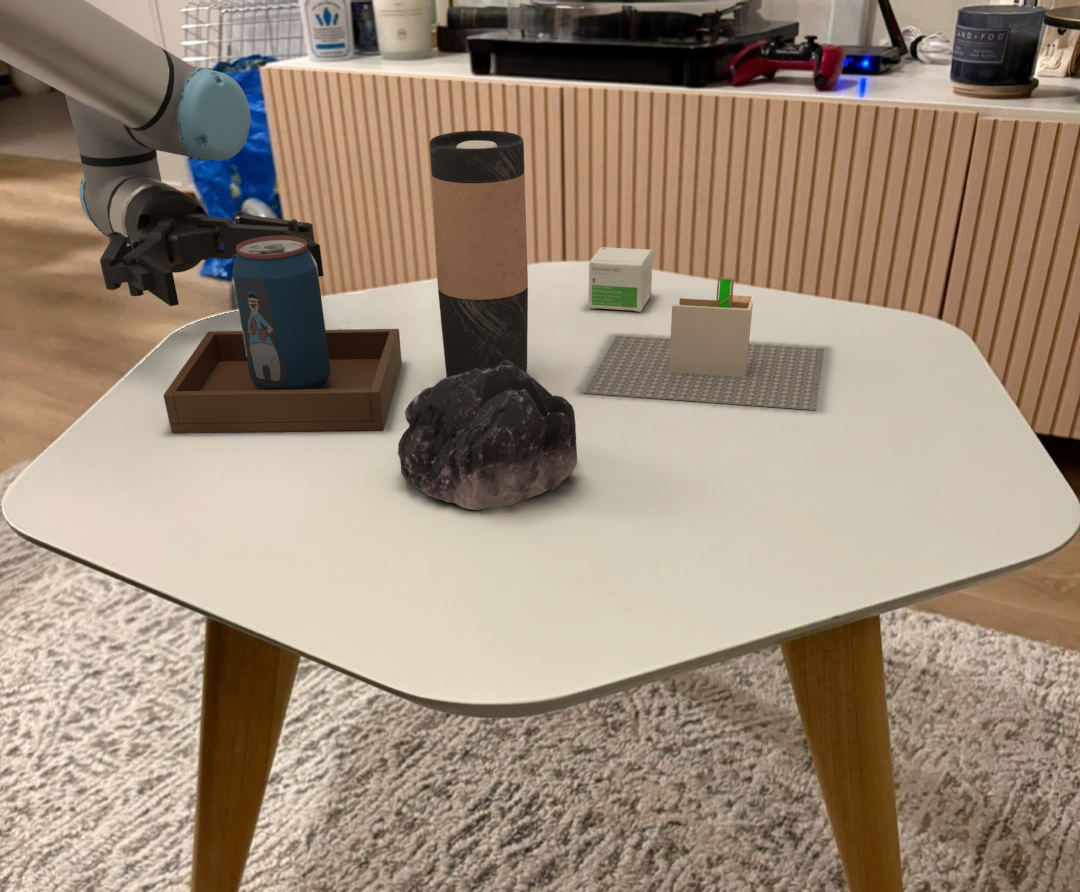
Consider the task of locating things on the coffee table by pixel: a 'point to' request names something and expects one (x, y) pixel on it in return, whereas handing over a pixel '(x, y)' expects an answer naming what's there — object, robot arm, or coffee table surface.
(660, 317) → the coffee table surface
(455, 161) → the travel mug
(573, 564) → the coffee table surface
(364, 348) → the tray
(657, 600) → the coffee table surface
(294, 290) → the soda can
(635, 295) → the small box
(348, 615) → the coffee table surface
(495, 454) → the crystal cluster
